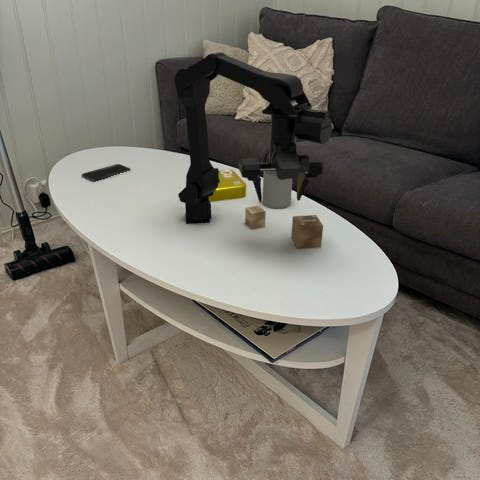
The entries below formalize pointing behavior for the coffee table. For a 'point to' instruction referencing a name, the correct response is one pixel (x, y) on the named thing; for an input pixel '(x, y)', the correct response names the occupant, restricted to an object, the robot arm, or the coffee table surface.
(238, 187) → the element tile
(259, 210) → the oak block
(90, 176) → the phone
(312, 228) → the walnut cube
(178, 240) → the coffee table surface
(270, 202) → the cup
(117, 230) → the coffee table surface
